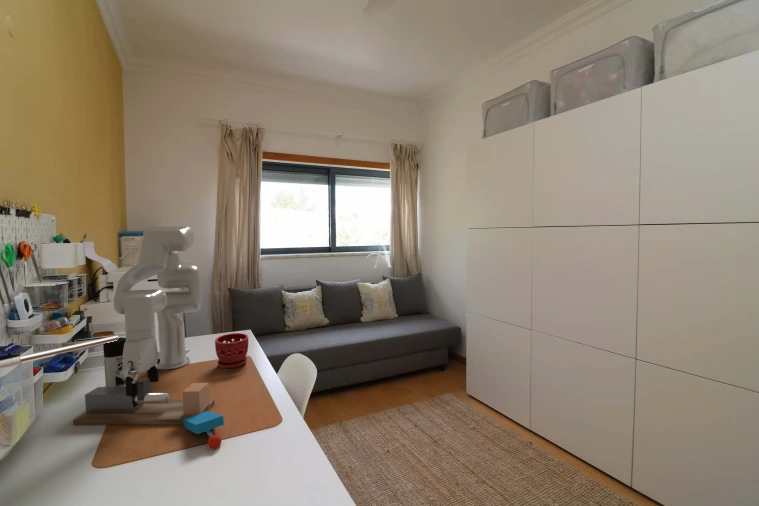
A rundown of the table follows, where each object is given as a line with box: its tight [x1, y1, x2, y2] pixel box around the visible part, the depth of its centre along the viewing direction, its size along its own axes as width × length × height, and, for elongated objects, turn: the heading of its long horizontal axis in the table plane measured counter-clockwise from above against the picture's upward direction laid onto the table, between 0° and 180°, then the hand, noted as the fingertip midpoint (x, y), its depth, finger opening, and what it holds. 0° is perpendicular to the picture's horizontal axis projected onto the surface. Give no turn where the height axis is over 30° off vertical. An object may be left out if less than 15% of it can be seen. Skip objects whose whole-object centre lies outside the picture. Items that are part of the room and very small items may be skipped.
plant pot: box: [214, 332, 249, 369], centre depth 148 cm, size 13×13×12 cm
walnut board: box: [72, 399, 216, 426], centre depth 109 cm, size 12×36×2 cm, turn 90°
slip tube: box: [133, 377, 172, 404], centre depth 108 cm, size 3×22×8 cm, turn 90°
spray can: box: [102, 337, 126, 387], centre depth 120 cm, size 7×7×20 cm
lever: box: [183, 410, 225, 450], centre depth 98 cm, size 7×7×18 cm
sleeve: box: [84, 386, 144, 414], centre depth 108 cm, size 5×14×6 cm, turn 90°
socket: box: [182, 382, 210, 414], centre depth 109 cm, size 6×5×7 cm
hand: (143, 388), depth 108 cm, fingers open, 9 cm apart
